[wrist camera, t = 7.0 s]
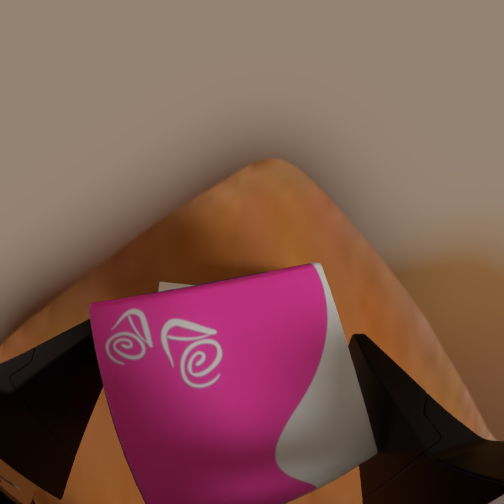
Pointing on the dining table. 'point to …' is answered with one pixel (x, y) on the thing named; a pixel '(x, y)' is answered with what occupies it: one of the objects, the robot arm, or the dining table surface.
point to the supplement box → (233, 389)
